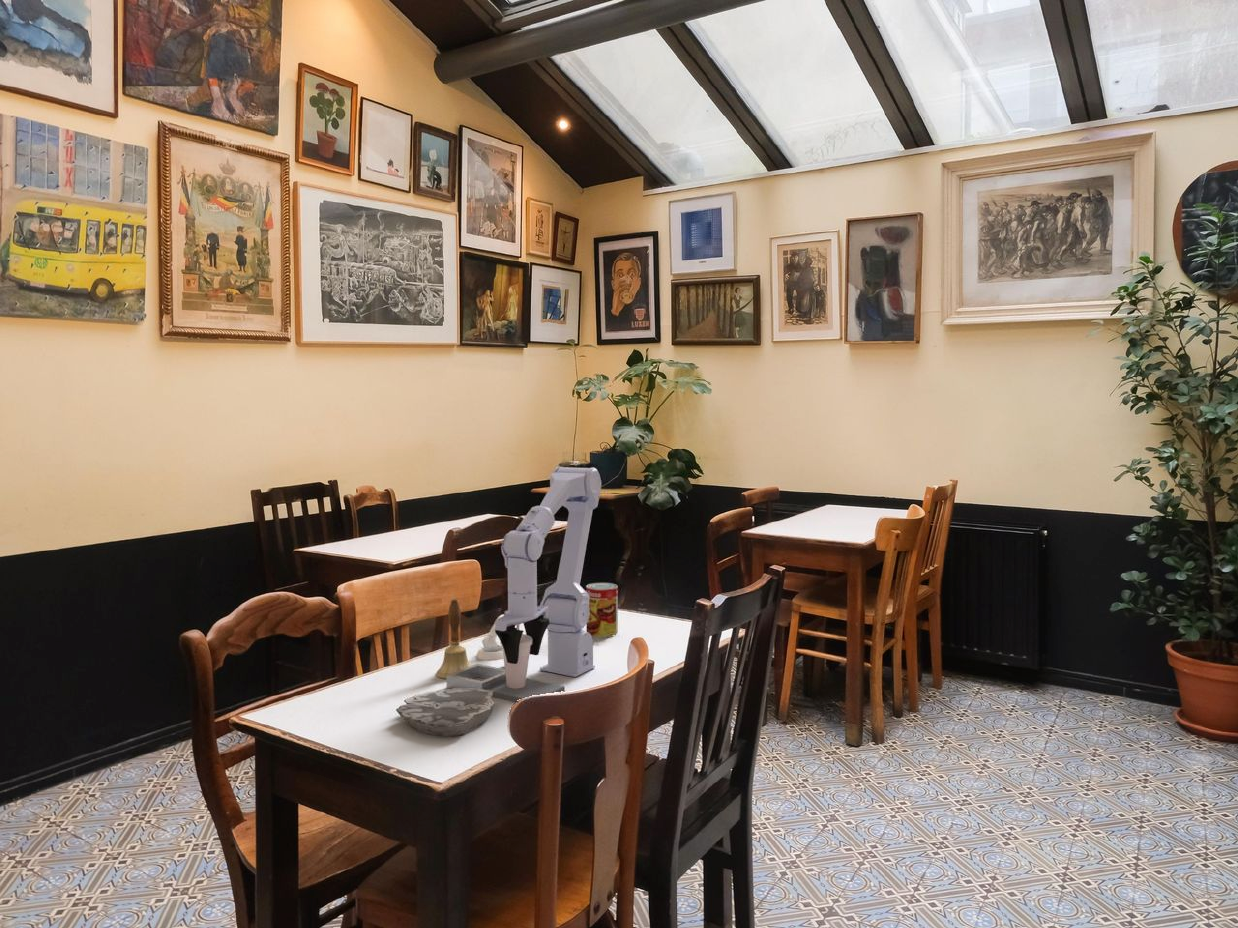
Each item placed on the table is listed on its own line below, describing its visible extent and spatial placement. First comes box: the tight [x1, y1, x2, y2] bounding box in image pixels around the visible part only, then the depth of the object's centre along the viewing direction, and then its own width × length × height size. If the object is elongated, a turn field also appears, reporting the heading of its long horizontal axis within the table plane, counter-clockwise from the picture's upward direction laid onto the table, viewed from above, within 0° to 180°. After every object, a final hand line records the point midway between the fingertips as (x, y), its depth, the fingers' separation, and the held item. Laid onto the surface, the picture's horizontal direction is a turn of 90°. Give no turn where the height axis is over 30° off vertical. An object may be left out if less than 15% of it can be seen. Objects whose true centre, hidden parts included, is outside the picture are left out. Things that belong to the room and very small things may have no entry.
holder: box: [445, 663, 507, 690], centre depth 179 cm, size 10×12×2 cm
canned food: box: [585, 582, 619, 638], centre depth 218 cm, size 8×8×12 cm
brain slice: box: [395, 688, 495, 738], centre depth 159 cm, size 20×17×3 cm
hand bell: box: [435, 598, 472, 680], centre depth 185 cm, size 8×8×16 cm
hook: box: [475, 613, 505, 661], centre depth 198 cm, size 8×12×7 cm
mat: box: [491, 677, 566, 703], centre depth 173 cm, size 11×10×1 cm
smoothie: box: [499, 624, 532, 689], centre depth 174 cm, size 6×6×14 cm
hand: (523, 658), depth 173 cm, fingers closed on smoothie, 6 cm apart
